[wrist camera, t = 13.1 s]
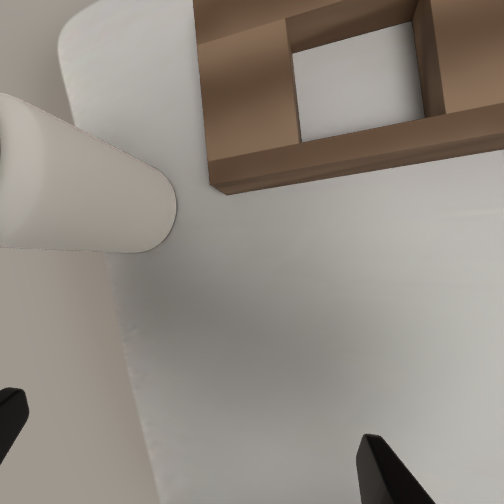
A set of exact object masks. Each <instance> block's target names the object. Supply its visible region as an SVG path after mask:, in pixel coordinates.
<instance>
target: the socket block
mask: <svg viewBox="0 0 504 504" xmlns="http://www.w3.org/2000/svg"><path fill="white" fill-rule="evenodd" d="M193 8H194V18H195V29H196V40H197V51H198V62H199V73H200V83H201V94H202V105H203V116H204V127H205V138H206V149H207V159H208V170H209V181H210V185H211V186H213V187H214V188H216V189H218V190H219V191H221V192H223V193H224V194H226V195H231V194H237V193H243V192H249V191H255V190H261V189H267V188H273V187H279V186H285V185H291V184H297V183H303V182H309V181H315V180H321V179H327V178H333V177H339V176H345V175H351V174H357V173H363V172H370V171H376V170H382V169H388V168H394V167H400V166H406V165H412V164H418V163H424V162H430V161H436V160H442V159H448V158H454V157H460V156H466V155H472V154H478V153H484V152H490V151H496V150H502V149H504V0H193ZM408 21H412V23H413V31H414V38H415V46H416V53H417V61H418V68H419V76H420V83H421V91H422V98H423V106H424V113H425V118H423V119H418V120H413V121H408V122H403V123H398V124H393V125H388V126H383V127H378V128H373V129H368V130H363V131H358V132H353V133H348V134H343V135H338V136H333V137H328V138H323V139H318V140H313V141H308V142H303V143H302V139H301V130H300V121H299V112H298V103H297V94H296V85H295V76H294V66H293V57H292V53H295V52H299V51H303V50H306V49H310V48H314V47H317V46H321V45H324V44H328V43H332V42H335V41H339V40H343V39H346V38H350V37H353V36H357V35H361V34H364V33H368V32H372V31H375V30H379V29H383V28H386V27H390V26H393V25H397V24H401V23H404V22H408Z"/></svg>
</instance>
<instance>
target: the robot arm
mask: <svg viewBox="0 0 504 504" xmlns="http://www.w3.org/2000/svg"><path fill="white" fill-rule="evenodd" d="M28 416H29V407H28V403H27V399H26V394H25V392H24V390H22V389H18V388H4V389H2V390H0V464H1V463H2V461H3V459H4V458H5V456H6V454H7V453H8V451H9V449H10V448H11V446H12V445H13V443H14V441H15V439H16V438H17V436H18V435H19V433H20V431H21V430H22V428H23V426H24V425H25V423H26V421H27V419H28ZM356 466H357V473H358V480H359V488H360V495H361V502H362V504H436V503H435V502H434V501H433V500H432V498H431V497H430V496H429V495H428V494H427V492H426V491H425V490H424V489H423V487H422V486H421V485H420V484H419V482H418V481H417V480H416V479H415V477H414V476H413V475H412V474H411V472H410V471H409V470H408V469H407V467H406V466H405V465H404V464H403V462H402V461H401V460H400V459H399V458H398V456H397V455H396V454H395V453H394V451H393V450H392V449H391V448H390V446H389V445H388V444H387V443H386V441H385V440H384V439H383V438H382V437H381V436H379V435H374V434H364V435H363V437H362V440H361V443H360V446H359V449H358V452H357V456H356Z"/></svg>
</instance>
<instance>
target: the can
mask: <svg viewBox="0 0 504 504" xmlns="http://www.w3.org/2000/svg"><path fill="white" fill-rule="evenodd" d="M175 216H176V197H175V193H174V190H173V188H172V185H171V184H170V182H169V181H168V179H167V178H166V177H165V176H164V175H163V174H162V173H161V172H160V171H158V170H157V169H155V168H153V167H151V166H149V165H148V164H146V163H144V162H142V161H140V160H138V159H136V158H134V157H132V156H131V155H129V154H127V153H125V152H123V151H121V150H119V149H117V148H115V147H113V146H111V145H109V144H108V143H106V142H104V141H102V140H100V139H98V138H96V137H94V136H92V135H90V134H88V133H86V132H84V131H82V130H80V129H78V128H77V127H75V126H73V125H71V124H69V123H67V122H65V121H63V120H61V119H59V118H57V117H55V116H53V115H51V114H49V113H47V112H45V111H43V110H41V109H39V108H37V107H35V106H33V105H31V104H29V103H27V102H25V101H23V100H21V99H19V98H16V97H14V96H11V95H9V94H5V93H0V248H20V249H44V250H67V251H68V250H69V251H93V252H121V253H139V252H145V251H148V250H151V249H153V248H154V247H156V246H157V245H159V244H160V243H161V242H162V241H163V240H164V239H165V238H166V237H167V235H168V234H169V232H170V230H171V228H172V226H173V223H174V220H175Z"/></svg>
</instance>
